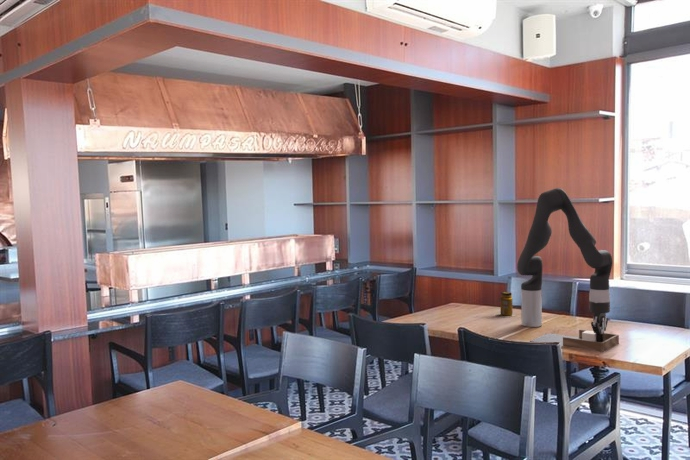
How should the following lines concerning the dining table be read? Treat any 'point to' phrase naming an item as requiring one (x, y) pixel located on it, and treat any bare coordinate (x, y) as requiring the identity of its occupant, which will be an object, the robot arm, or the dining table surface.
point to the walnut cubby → (592, 342)
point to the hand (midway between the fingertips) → (599, 342)
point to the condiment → (506, 304)
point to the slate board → (555, 339)
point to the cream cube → (589, 336)
